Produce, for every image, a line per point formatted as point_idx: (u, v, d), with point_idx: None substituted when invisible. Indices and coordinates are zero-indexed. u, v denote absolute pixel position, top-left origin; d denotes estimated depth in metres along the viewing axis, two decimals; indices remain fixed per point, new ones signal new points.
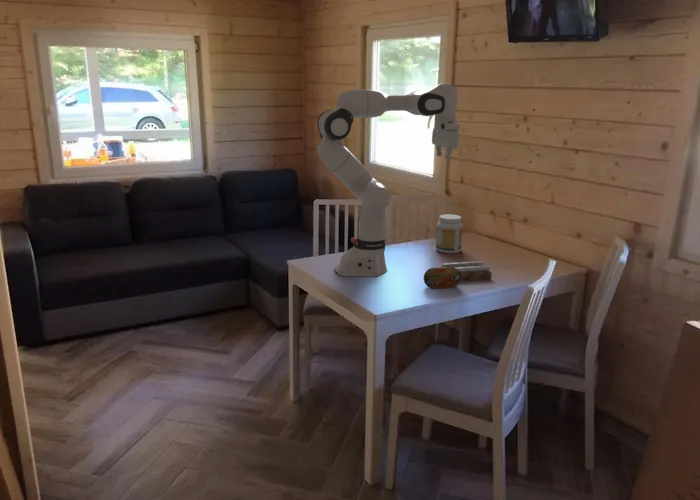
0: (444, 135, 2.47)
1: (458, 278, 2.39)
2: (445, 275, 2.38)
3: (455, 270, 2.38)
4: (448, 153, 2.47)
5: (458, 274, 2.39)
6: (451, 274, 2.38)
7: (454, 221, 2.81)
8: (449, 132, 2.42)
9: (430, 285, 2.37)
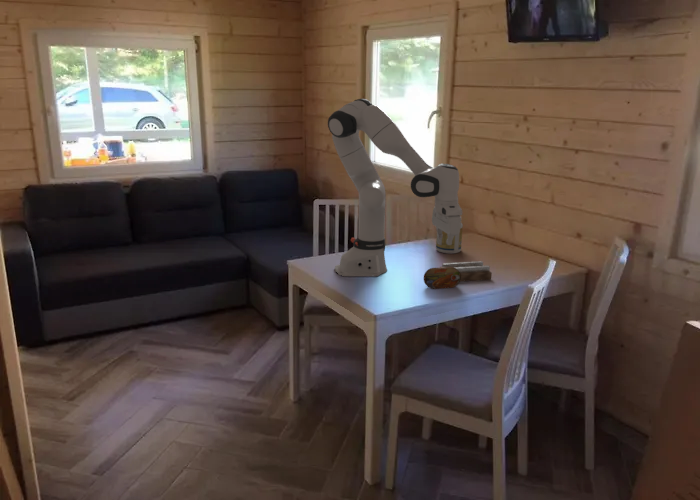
0: (445, 219, 2.28)
1: (458, 278, 2.39)
2: (445, 275, 2.38)
3: (455, 270, 2.38)
4: (450, 239, 2.28)
5: (458, 274, 2.39)
6: (451, 274, 2.38)
7: None
8: (450, 218, 2.23)
9: (430, 285, 2.37)
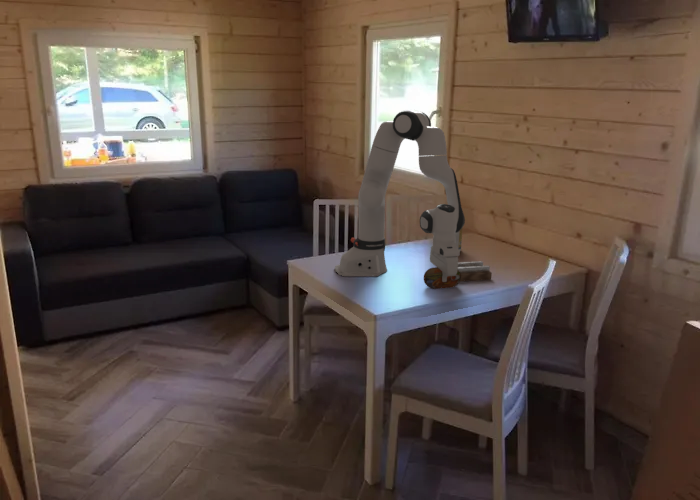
0: (443, 259, 2.32)
1: (458, 278, 2.39)
2: None
3: None
4: (444, 276, 2.35)
5: (458, 274, 2.39)
6: None
7: None
8: (448, 259, 2.27)
9: (430, 285, 2.37)
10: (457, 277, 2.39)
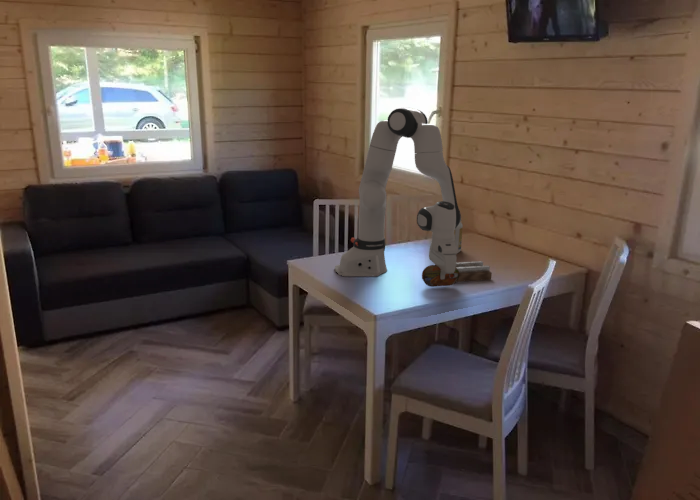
0: (441, 257, 2.32)
1: (456, 276, 2.39)
2: None
3: None
4: (442, 274, 2.35)
5: (456, 272, 2.38)
6: None
7: None
8: (446, 256, 2.26)
9: (428, 282, 2.37)
10: (455, 275, 2.38)
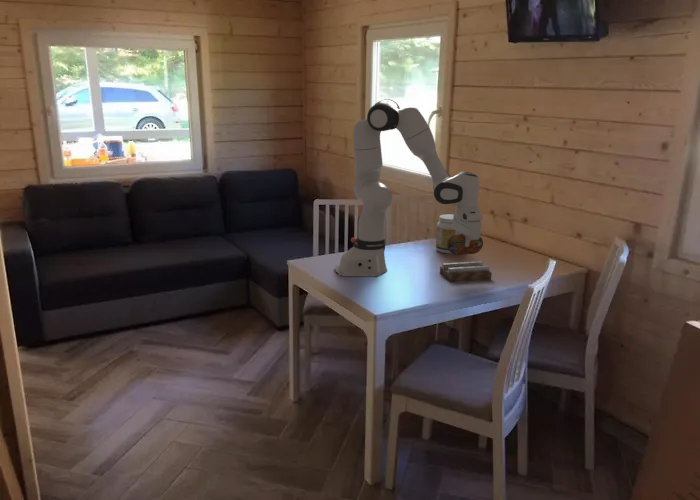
0: (466, 224, 2.41)
1: (480, 244, 2.48)
2: None
3: None
4: (467, 241, 2.44)
5: (480, 241, 2.47)
6: (473, 241, 2.47)
7: None
8: (471, 223, 2.35)
9: (453, 251, 2.46)
10: (479, 244, 2.48)
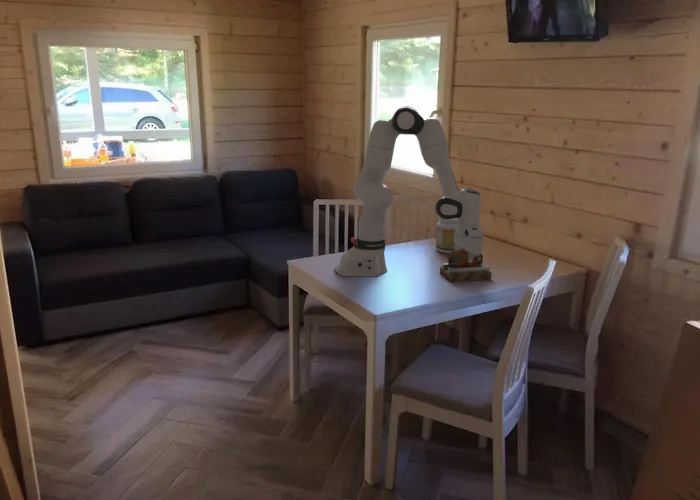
0: (468, 240, 2.45)
1: (480, 260, 2.53)
2: None
3: None
4: (470, 258, 2.46)
5: (480, 256, 2.53)
6: None
7: (454, 221, 2.81)
8: (473, 240, 2.40)
9: (454, 266, 2.51)
10: (479, 259, 2.53)
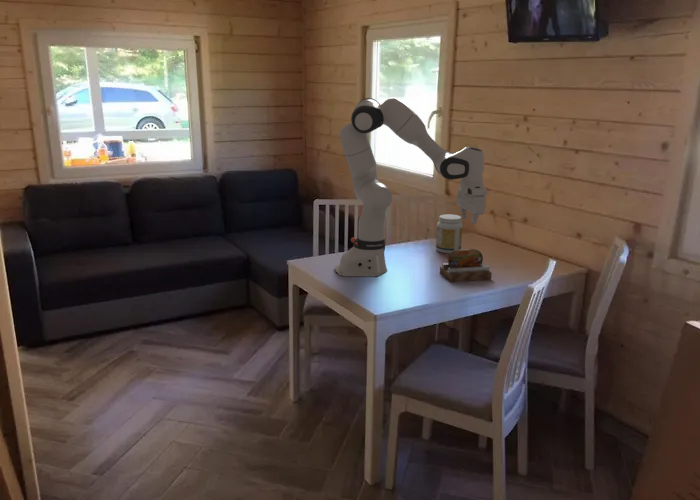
0: (470, 199, 2.40)
1: (480, 260, 2.53)
2: (468, 257, 2.52)
3: (477, 252, 2.52)
4: (474, 218, 2.41)
5: (480, 256, 2.53)
6: (473, 256, 2.52)
7: (454, 221, 2.81)
8: (476, 198, 2.35)
9: (454, 266, 2.51)
10: (479, 259, 2.53)
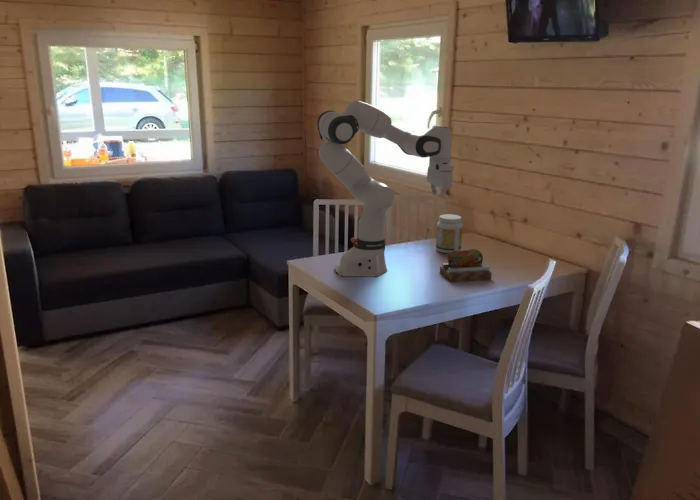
0: (438, 175, 2.53)
1: (480, 260, 2.53)
2: (468, 257, 2.52)
3: (477, 252, 2.52)
4: (442, 193, 2.54)
5: (480, 256, 2.53)
6: (473, 256, 2.52)
7: (454, 221, 2.81)
8: (443, 173, 2.48)
9: (454, 266, 2.51)
10: (479, 259, 2.53)
